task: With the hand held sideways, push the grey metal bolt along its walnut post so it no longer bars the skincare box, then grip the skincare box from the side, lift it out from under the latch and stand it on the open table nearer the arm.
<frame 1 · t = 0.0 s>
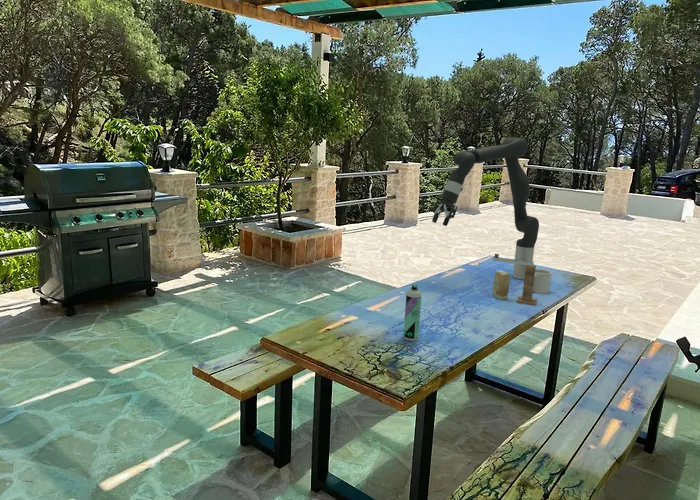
hand: (439, 223, 258), 31 cm above the table, tool tilted 20°, fingers open, 8 cm apart
mug: (537, 291, 267), on the table
spray can: (410, 338, 200), on the table
skincare box: (499, 297, 253), on the table
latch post: (526, 301, 249), on the table
latch bar: (513, 259, 248), point 19 cm above the table, slide at 0.0 cm
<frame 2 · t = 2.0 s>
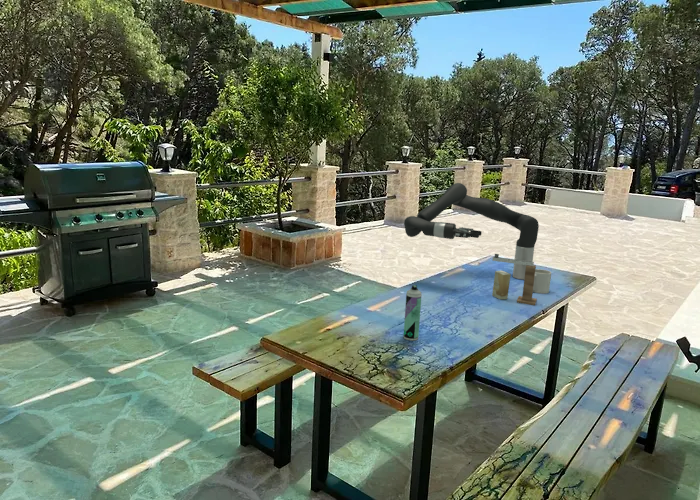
hand: (479, 234, 254), 28 cm above the table, tool horizontal, fingers open, 5 cm apart
nothing on the table moved.
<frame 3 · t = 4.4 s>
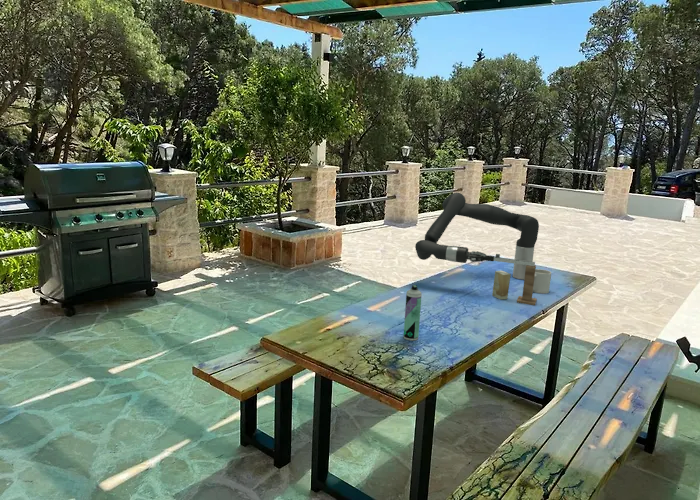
hand: (494, 258, 251), 18 cm above the table, tool horizontal, fingers closed
latch bar: (514, 259, 247), point 19 cm above the table, slide at 0.5 cm, touching gripper
everything else where it was.
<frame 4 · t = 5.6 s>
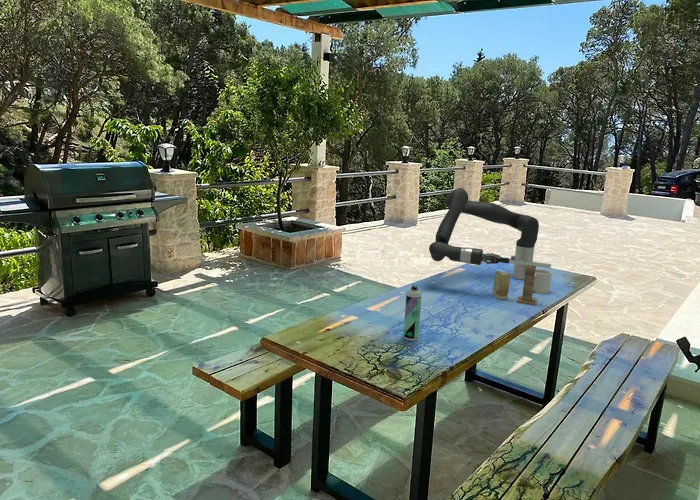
hand: (509, 260, 248), 18 cm above the table, tool horizontal, fingers closed
latch bar: (529, 261, 245), point 19 cm above the table, slide at 7.4 cm, touching gripper
everything else where it was.
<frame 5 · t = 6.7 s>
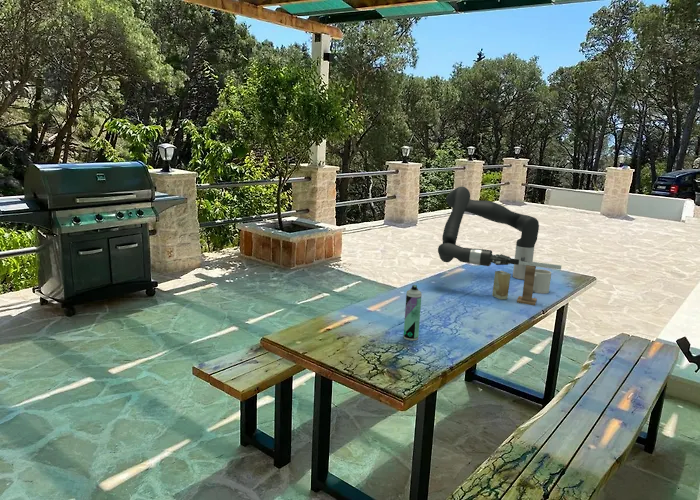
hand: (519, 262, 247), 18 cm above the table, tool horizontal, fingers closed
latch bar: (540, 263, 243), point 19 cm above the table, slide at 11.7 cm, touching gripper
everything else where it was.
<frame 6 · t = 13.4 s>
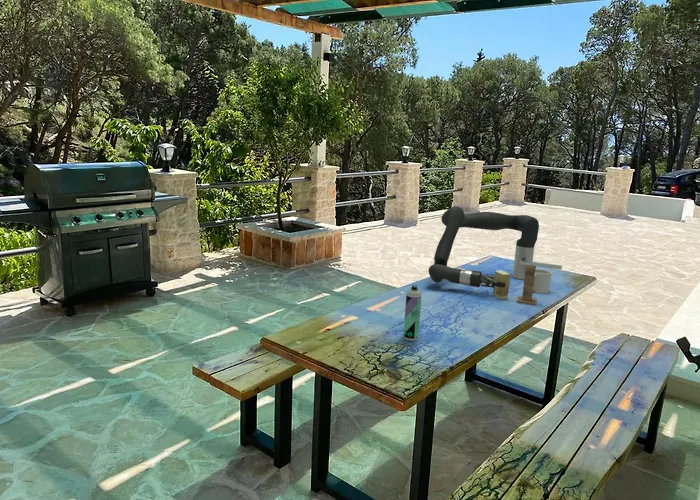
hand: (506, 283, 251), 7 cm above the table, tool horizontal, fingers closed on skincare box, 7 cm apart
skincare box: (499, 297, 253), on the table, touching gripper
latch bar: (540, 263, 243), point 19 cm above the table, slide at 12.0 cm
everything else where it was.
when the fingers open (7 cm above the table, at t = 19.4 s): skincare box stays where it is, on the table.
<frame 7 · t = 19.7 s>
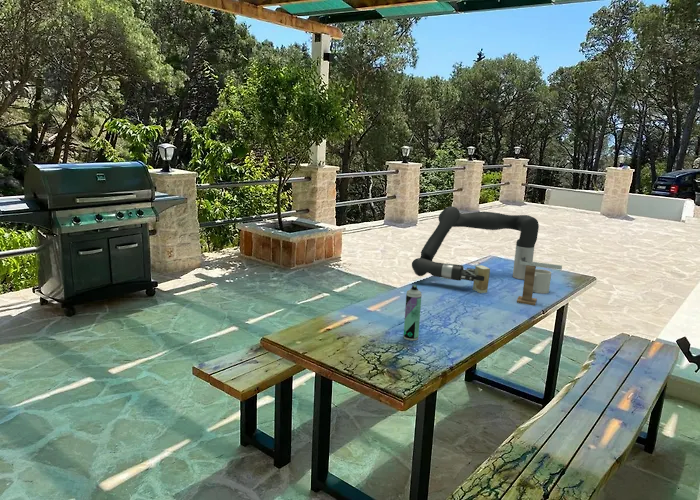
hand: (485, 276, 259), 8 cm above the table, tool horizontal, fingers open, 8 cm apart
skincare box: (480, 291, 262), on the table
everything else where it was.
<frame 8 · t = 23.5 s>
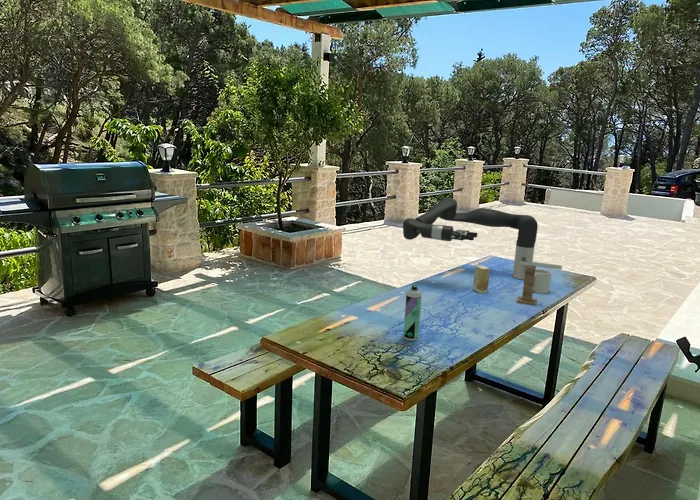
hand: (475, 236, 260), 26 cm above the table, tool horizontal, fingers open, 8 cm apart
nothing on the table moved.
at the end: latch bar slide at 12.0 cm; skincare box inside the target area (0.6 cm from its centre), on the table; skincare box tilted 0° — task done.
